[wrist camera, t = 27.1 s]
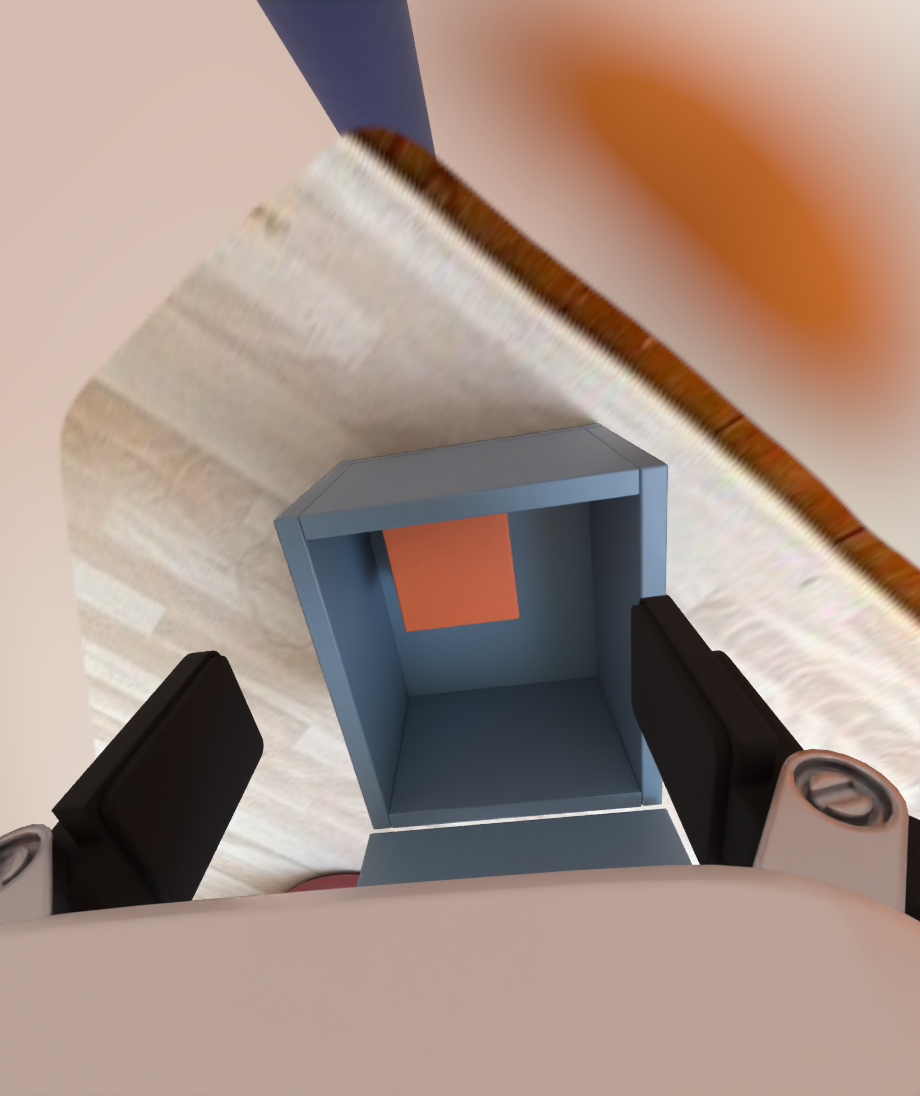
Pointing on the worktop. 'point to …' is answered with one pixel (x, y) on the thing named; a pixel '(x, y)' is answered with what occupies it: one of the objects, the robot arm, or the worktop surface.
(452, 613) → the orange cube
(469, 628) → the blue hinged box
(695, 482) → the worktop surface
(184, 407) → the worktop surface
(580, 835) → the lid
